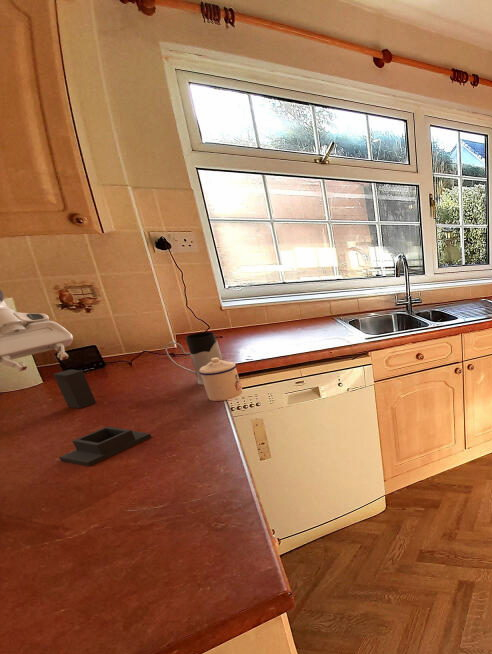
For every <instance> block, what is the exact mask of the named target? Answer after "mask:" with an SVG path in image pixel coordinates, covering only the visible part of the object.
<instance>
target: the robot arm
mask: <svg viewBox="0 0 492 654" xmlns="http://www.w3.org/2000/svg"><path fill="white" fill-rule="evenodd" d="M73 341H74V336H73V335H72V333H71V332H69V330H67V329H66V328H65V327H64V326H63V325H61V324H60V323H58V322H56V321H54V320H50V317H49V315H47V314H46V313H41V312H39V313H37V312H19V311H16V310H14V309H12V308H10V307H9V306H8V304H7V302H5V300H4V292H3V291H2V290H1V289H0V363H1V364H2V365H3V366H7V367H10V368H14V369H15V370H16V371H17V372H22V371H26V370H27V368H28V366H27V364H25V363H24V362H23V361H20V362H19V361H15V359H20V358H25V357H28V356H31V355H37V354H41V353H45V352H50V351H53V350H55V351H56V352H57V355H56V357H57V358H58V359H59V360H60V361H64V360H68V359H69V357H70V356H69V354H68V353H67V352H66V351H65V350H66V349H65V347H69V346H71V345H72V344H73Z"/></svg>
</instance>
